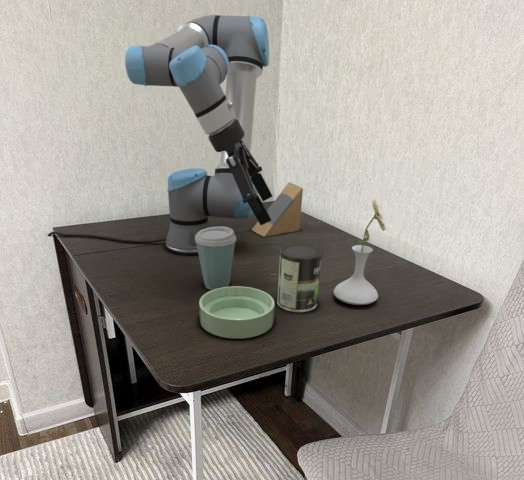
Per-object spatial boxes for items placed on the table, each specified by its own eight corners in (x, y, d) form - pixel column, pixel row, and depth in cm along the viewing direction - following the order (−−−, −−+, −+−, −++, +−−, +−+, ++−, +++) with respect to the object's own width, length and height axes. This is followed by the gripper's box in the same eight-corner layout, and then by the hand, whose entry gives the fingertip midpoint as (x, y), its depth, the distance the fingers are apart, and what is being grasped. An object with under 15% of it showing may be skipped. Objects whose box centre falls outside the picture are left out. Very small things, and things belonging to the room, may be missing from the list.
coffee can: (319, 296, 125) (324, 245, 118) (314, 315, 116) (320, 260, 109) (280, 292, 127) (283, 240, 119) (273, 309, 118) (276, 255, 110)
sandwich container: (250, 229, 169) (251, 186, 161) (286, 223, 176) (288, 181, 168) (263, 237, 163) (264, 192, 155) (299, 230, 170) (303, 187, 162)
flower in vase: (367, 313, 118) (384, 212, 105) (325, 301, 123) (336, 203, 110) (385, 295, 127) (403, 200, 114) (345, 284, 132) (358, 192, 119)
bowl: (185, 326, 110) (184, 307, 107) (225, 298, 123) (225, 280, 120) (250, 347, 103) (250, 327, 100) (285, 315, 116) (287, 296, 113)
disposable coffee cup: (205, 296, 123) (203, 240, 115) (190, 280, 131) (187, 227, 123) (242, 289, 127) (243, 234, 119) (226, 274, 135) (225, 222, 127)
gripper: (231, 136, 93) (280, 226, 105) (240, 103, 112) (281, 183, 124) (199, 154, 95) (250, 240, 107) (213, 119, 114) (255, 196, 126)
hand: (266, 210), depth 116 cm, fingers open, 13 cm apart
